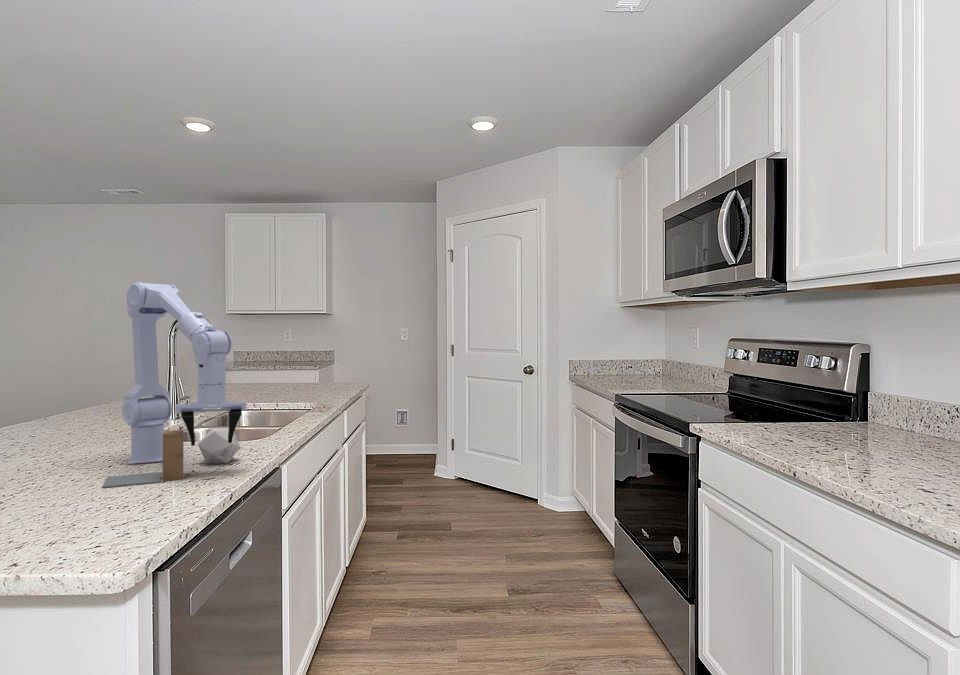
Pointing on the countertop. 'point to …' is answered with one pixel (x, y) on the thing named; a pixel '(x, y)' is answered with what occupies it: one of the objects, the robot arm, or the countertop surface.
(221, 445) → the die
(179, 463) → the walnut block
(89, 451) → the countertop surface
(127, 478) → the mat
